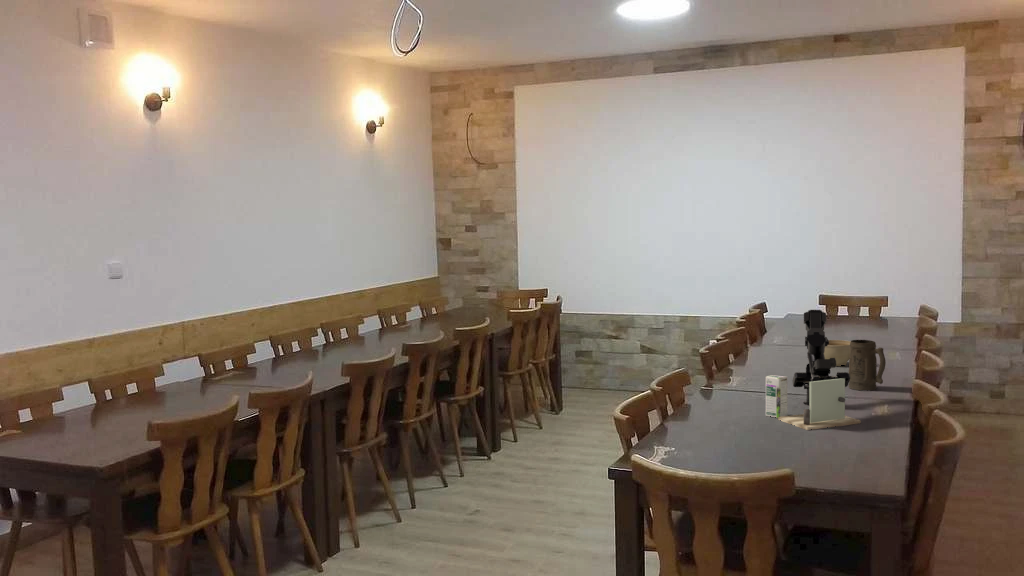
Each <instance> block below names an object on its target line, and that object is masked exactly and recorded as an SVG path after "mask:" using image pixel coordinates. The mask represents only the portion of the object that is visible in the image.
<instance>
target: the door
mask: <svg viewBox="0 0 1024 576" xmlns="http://www.w3.org/2000/svg"><path fill="white" fill-rule="evenodd" d="M845 402H846V387H845V379H844V378H840V379H831V380H822V381H813V382H809V405H808V406H809V408H808V409H809V410H810V423H814V422H822V421H829V420H837V419H845V416H846V413H845V412H846V407H845V406H846V403H845Z"/></svg>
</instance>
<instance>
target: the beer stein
mask: <svg viewBox="0 0 1024 576" xmlns="http://www.w3.org/2000/svg"><path fill="white" fill-rule="evenodd" d="M850 341H851V342H850V357H849V360H848V366H849V367H848V373H849V374H850V381H849V384H848V388H849V389H851V390H854V389H855V390H854V391H861V390H867V391H866V392H868V390H870V391H875V390H877V388H878V387H877V383H878V384H880V385H882V384H883V383H884V380H883V374H884V372H885V369H886V357H885V354H884V347H878V348H877V344H876V341H874V340H870V339H869V340H868V339H852V340H850ZM876 355H878V356H879V366H878V371H877V364H878V363H877V356H876Z"/></svg>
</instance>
